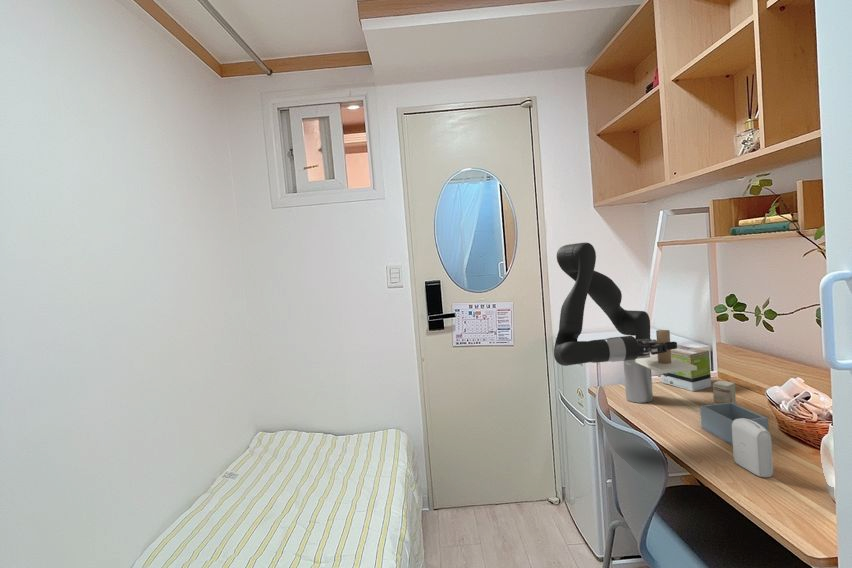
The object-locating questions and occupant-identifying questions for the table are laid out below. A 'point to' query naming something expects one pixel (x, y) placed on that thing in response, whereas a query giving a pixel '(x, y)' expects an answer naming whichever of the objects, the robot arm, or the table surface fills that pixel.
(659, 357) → the lid
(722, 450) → the table surface
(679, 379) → the tea box
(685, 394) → the table surface
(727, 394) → the skincare box
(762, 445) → the photo printer
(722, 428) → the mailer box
